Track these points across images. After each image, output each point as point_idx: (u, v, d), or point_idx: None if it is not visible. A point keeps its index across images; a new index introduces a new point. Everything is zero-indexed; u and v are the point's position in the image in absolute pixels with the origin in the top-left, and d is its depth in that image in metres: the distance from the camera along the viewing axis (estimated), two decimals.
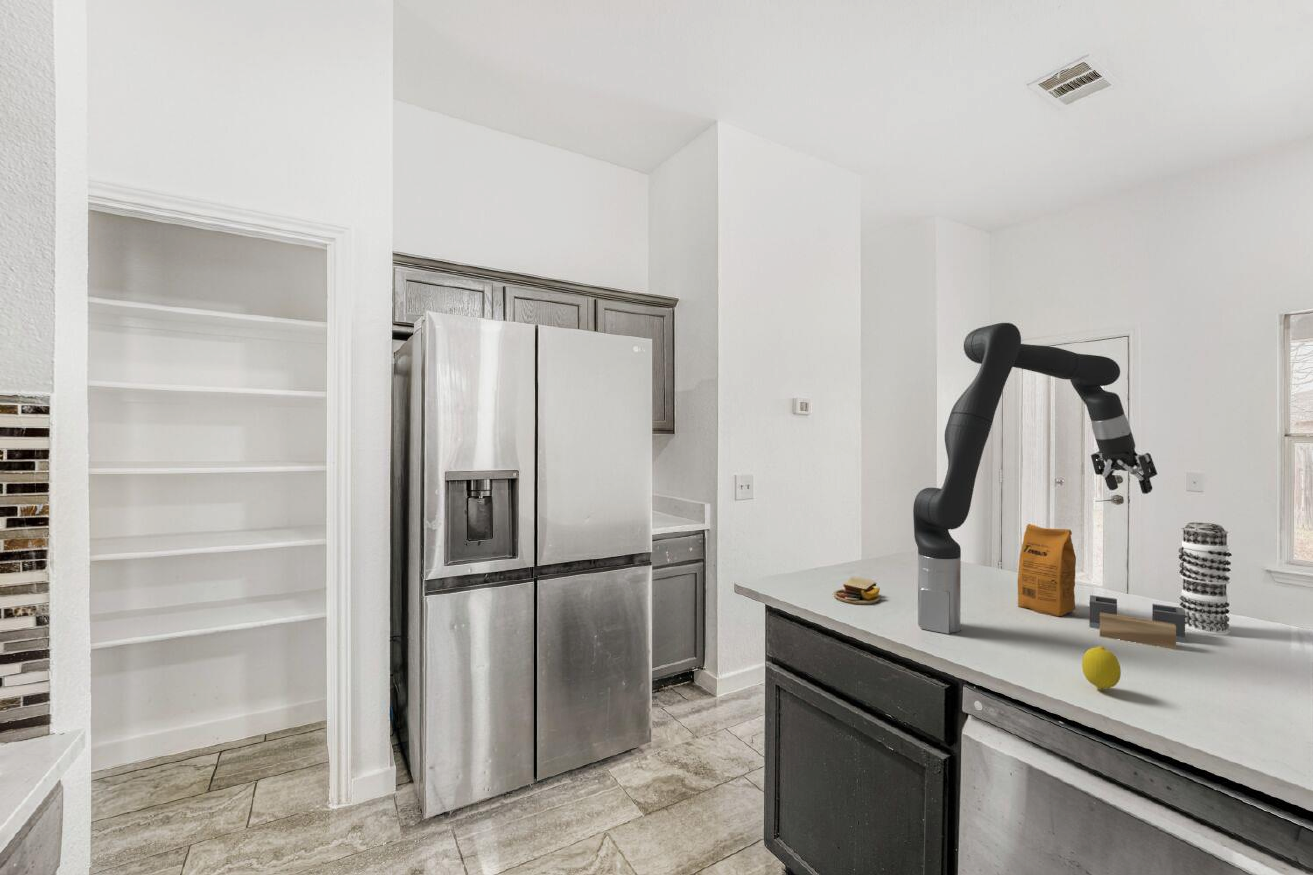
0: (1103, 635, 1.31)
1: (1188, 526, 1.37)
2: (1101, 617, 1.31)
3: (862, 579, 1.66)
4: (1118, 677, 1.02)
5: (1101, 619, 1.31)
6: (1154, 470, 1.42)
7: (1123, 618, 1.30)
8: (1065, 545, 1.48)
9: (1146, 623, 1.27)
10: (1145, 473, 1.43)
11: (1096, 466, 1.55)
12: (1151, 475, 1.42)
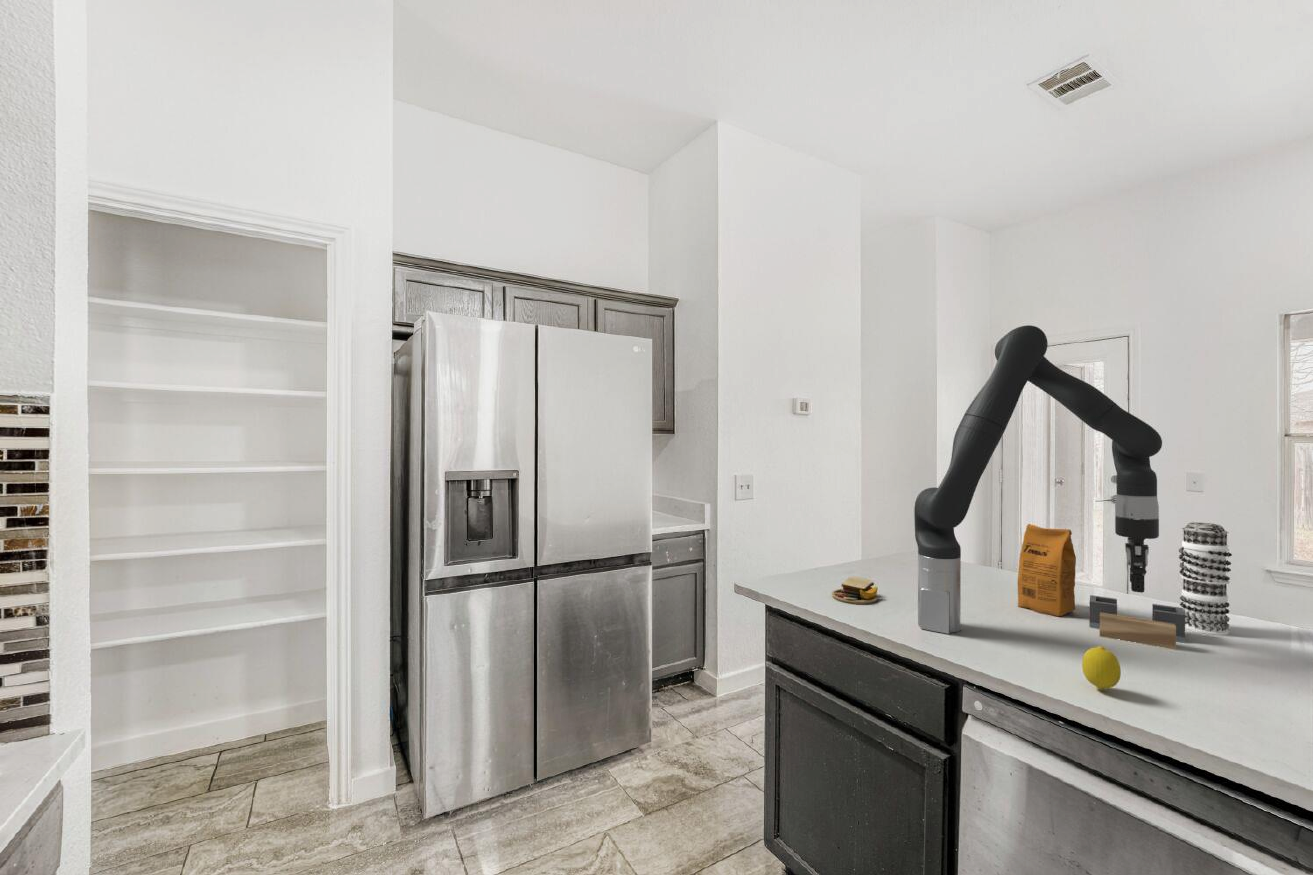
0: (1103, 635, 1.31)
1: (1188, 526, 1.37)
2: (1101, 617, 1.31)
3: (860, 579, 1.66)
4: (1118, 677, 1.02)
5: (1101, 619, 1.31)
6: (1143, 567, 1.23)
7: (1123, 618, 1.30)
8: (1065, 545, 1.48)
9: (1146, 623, 1.27)
10: (1130, 566, 1.24)
11: None
12: (1134, 570, 1.24)
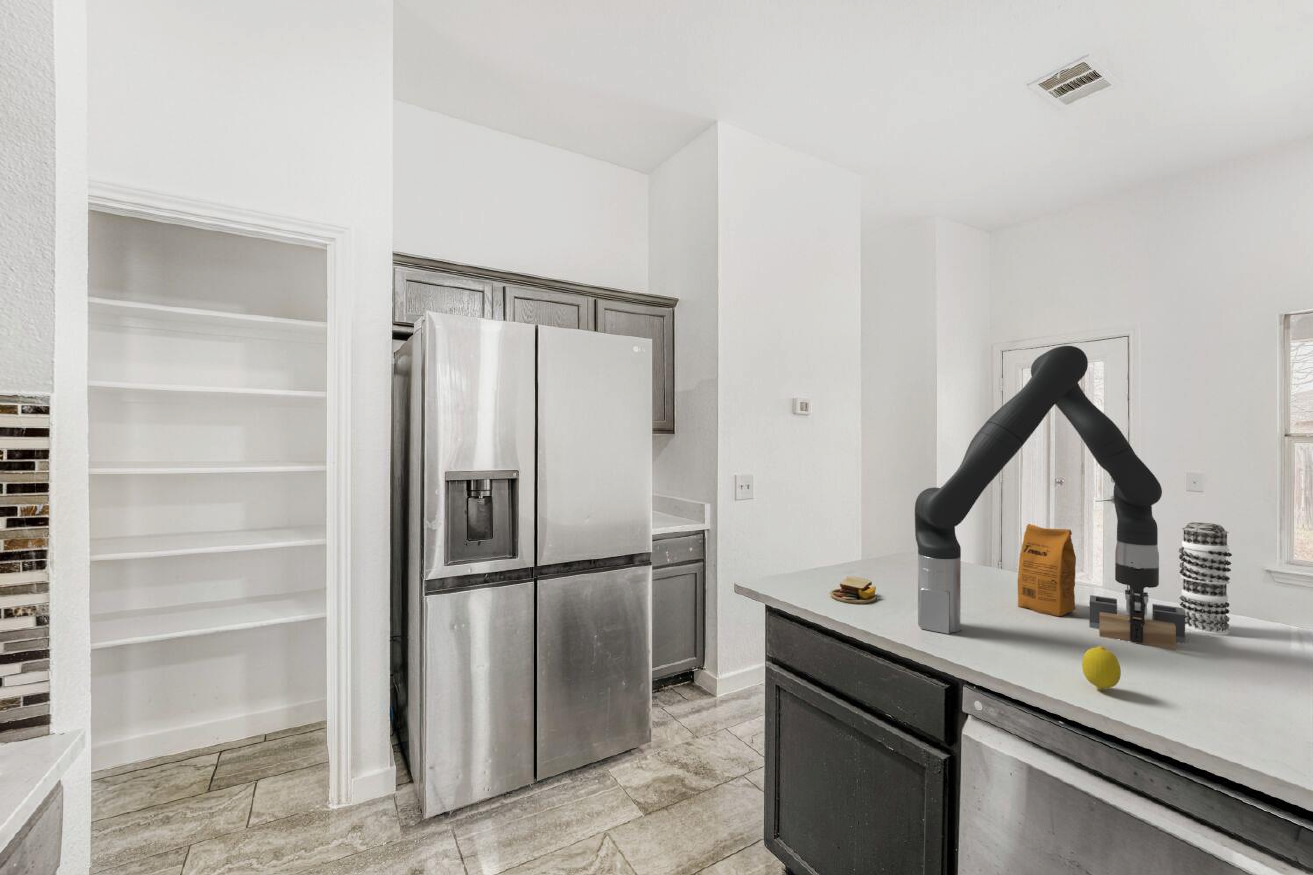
0: (1103, 634, 1.31)
1: (1188, 526, 1.37)
2: (1101, 616, 1.31)
3: (858, 578, 1.67)
4: (1118, 677, 1.02)
5: (1101, 618, 1.31)
6: (1142, 621, 1.24)
7: (1123, 617, 1.30)
8: (1065, 545, 1.48)
9: (1146, 622, 1.27)
10: None
11: None
12: (1133, 621, 1.26)
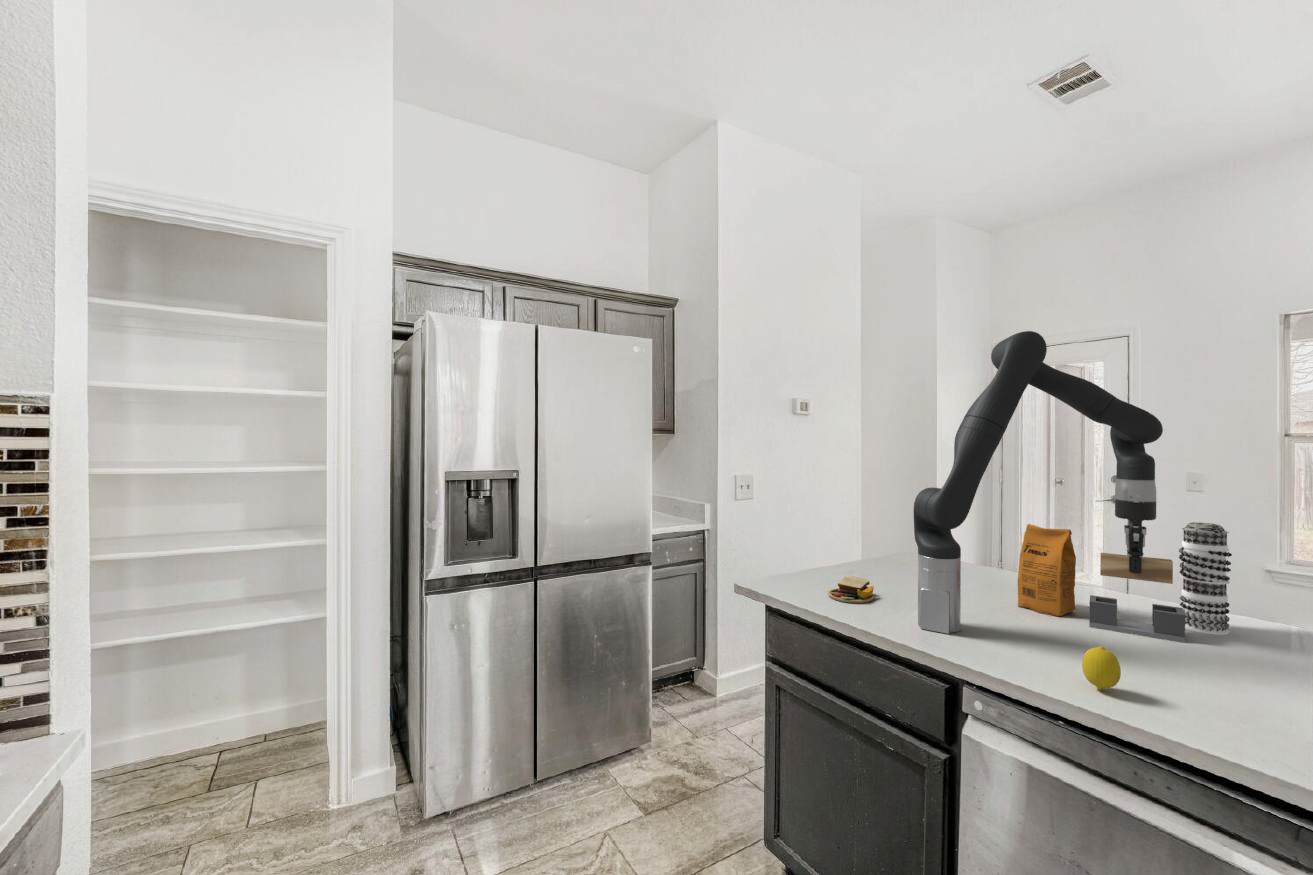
0: (1104, 573, 1.38)
1: (1188, 526, 1.37)
2: (1102, 556, 1.38)
3: (855, 578, 1.67)
4: (1118, 677, 1.02)
5: (1102, 558, 1.38)
6: (1140, 551, 1.31)
7: (1123, 556, 1.37)
8: (1065, 545, 1.48)
9: (1144, 559, 1.34)
10: (1129, 548, 1.33)
11: None
12: (1132, 552, 1.32)
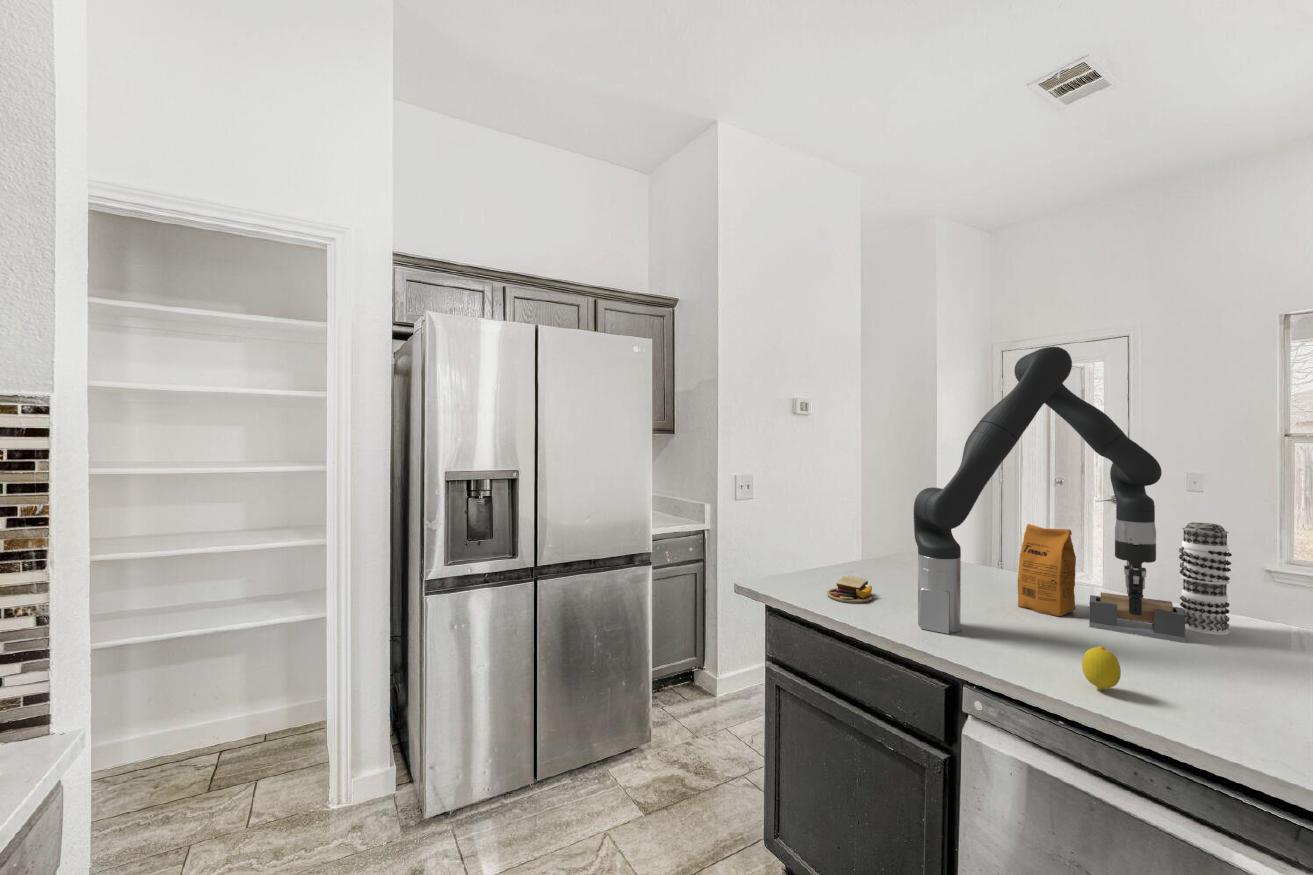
0: None
1: (1188, 526, 1.37)
2: (1102, 596, 1.38)
3: (854, 578, 1.68)
4: (1118, 677, 1.02)
5: (1102, 598, 1.38)
6: (1140, 594, 1.32)
7: (1123, 597, 1.37)
8: (1065, 545, 1.48)
9: (1144, 601, 1.34)
10: (1128, 590, 1.33)
11: None
12: (1132, 594, 1.33)
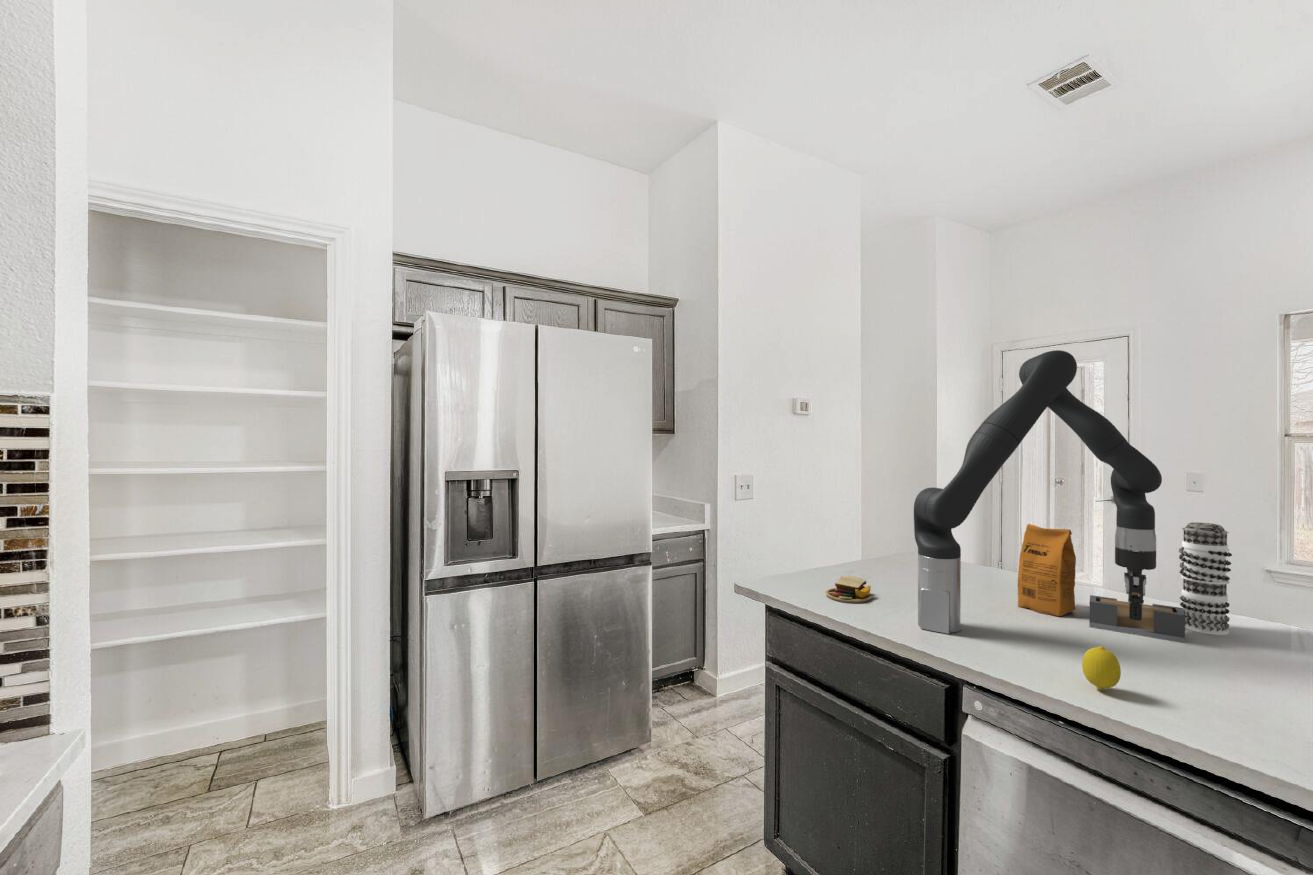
0: None
1: (1188, 526, 1.37)
2: None
3: (852, 578, 1.68)
4: (1118, 677, 1.02)
5: None
6: (1140, 597, 1.30)
7: (1122, 603, 1.37)
8: (1065, 545, 1.48)
9: (1144, 608, 1.34)
10: (1129, 595, 1.32)
11: None
12: (1132, 599, 1.31)
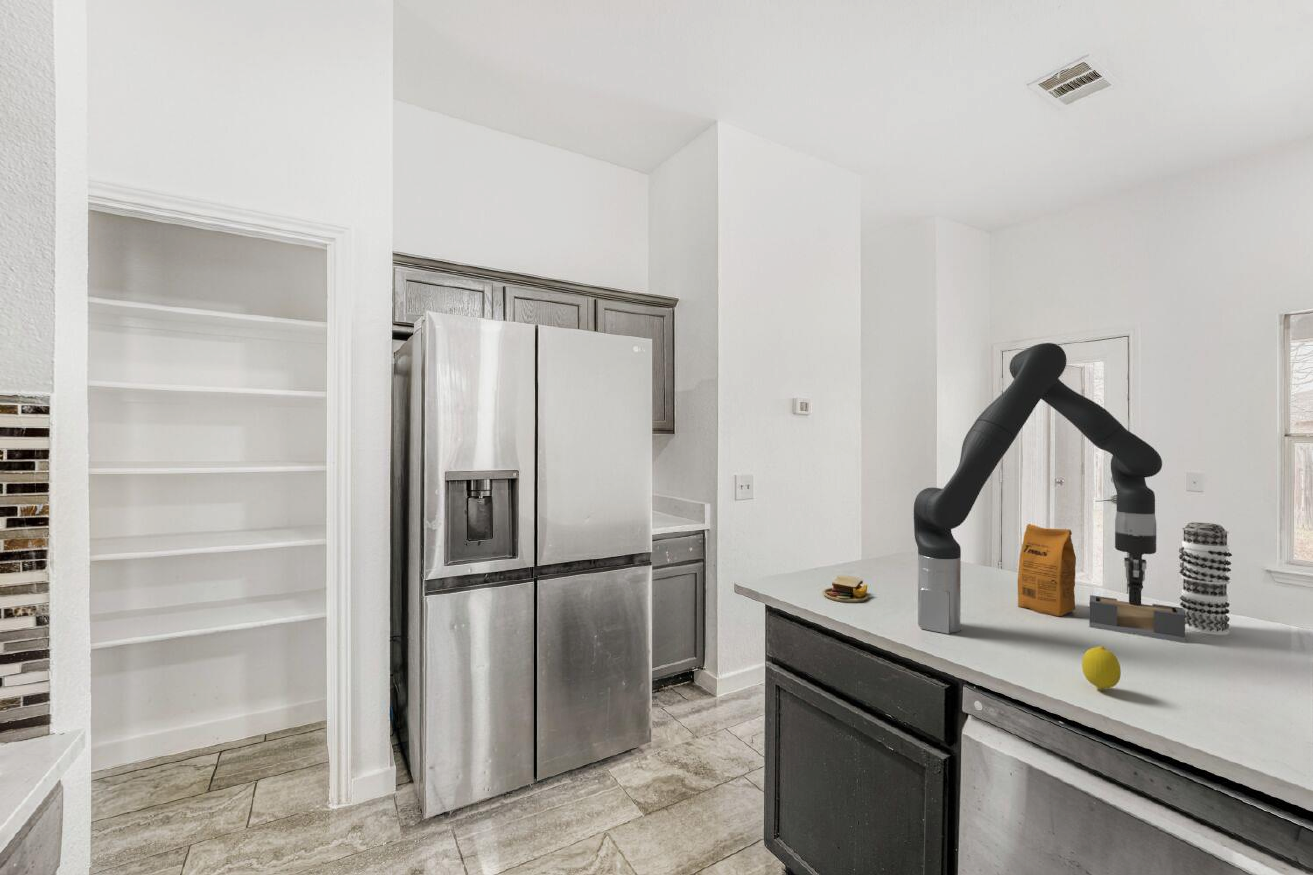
0: None
1: (1188, 526, 1.37)
2: None
3: (848, 577, 1.68)
4: (1118, 677, 1.02)
5: None
6: (1140, 585, 1.32)
7: (1122, 603, 1.37)
8: (1065, 545, 1.48)
9: (1144, 608, 1.34)
10: None
11: None
12: (1132, 585, 1.34)
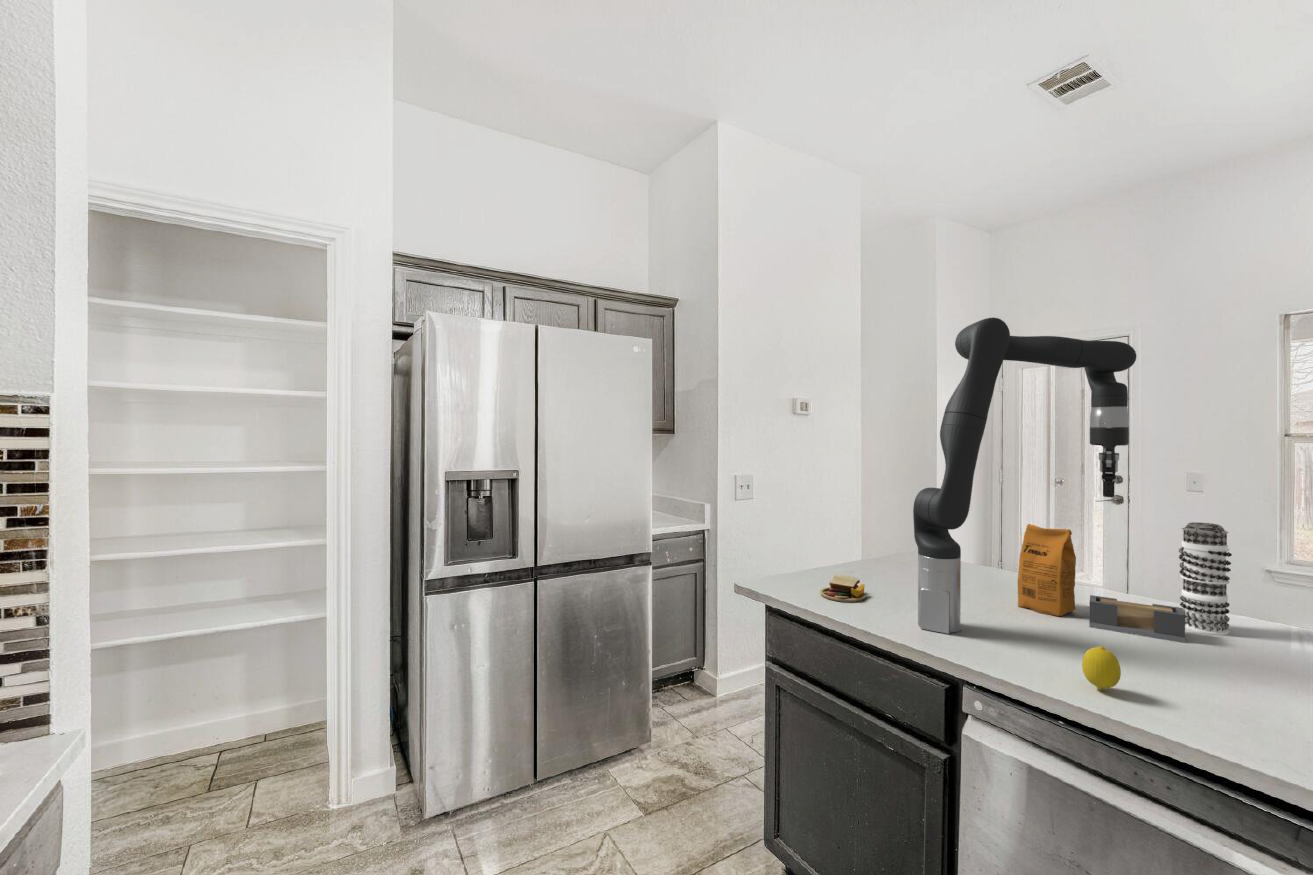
0: None
1: (1188, 526, 1.37)
2: None
3: (845, 577, 1.69)
4: (1118, 677, 1.02)
5: None
6: (1113, 475, 1.37)
7: (1122, 603, 1.37)
8: (1065, 545, 1.48)
9: (1144, 608, 1.34)
10: (1102, 473, 1.39)
11: None
12: (1105, 476, 1.38)
